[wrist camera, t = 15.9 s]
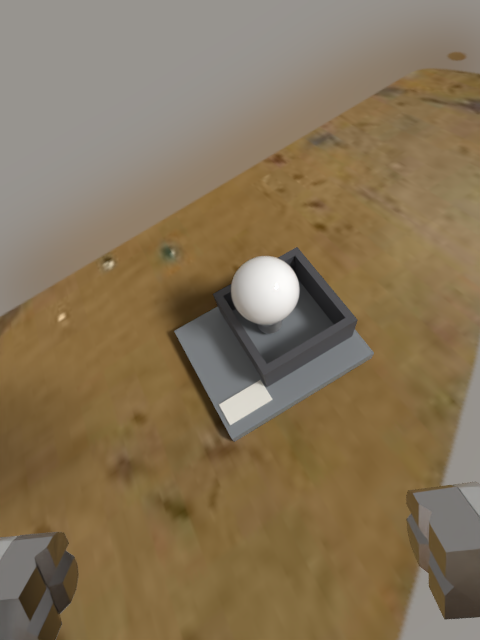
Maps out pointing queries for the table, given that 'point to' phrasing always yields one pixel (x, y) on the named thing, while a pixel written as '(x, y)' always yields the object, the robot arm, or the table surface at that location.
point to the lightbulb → (265, 292)
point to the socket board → (272, 352)
